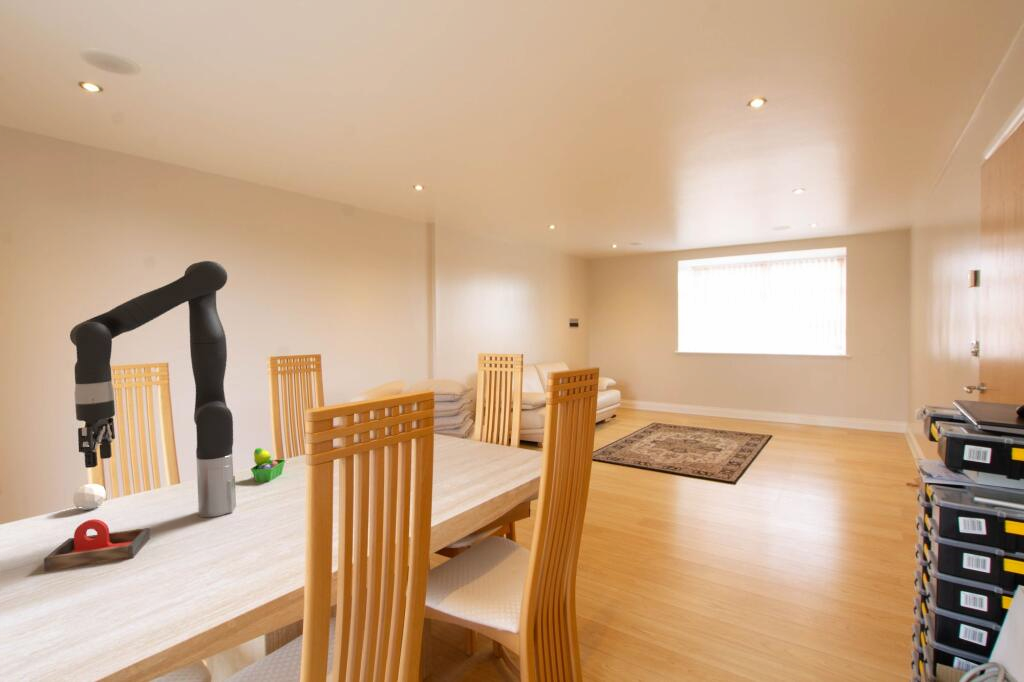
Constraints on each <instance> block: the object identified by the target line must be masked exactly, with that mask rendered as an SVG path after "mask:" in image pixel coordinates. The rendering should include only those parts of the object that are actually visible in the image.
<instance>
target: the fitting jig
mask: <svg viewBox="0 0 1024 682" xmlns="http://www.w3.org/2000/svg"><path fill="white" fill-rule="evenodd" d="M87 536H88V537H89V538H96V537H97V534H93V535H92V534H91V535H87ZM109 539H110V542H111V543H112V544H118V543H128V542H132V543H131V544H130V545H124V546H117V547H110V548H103V549H96V550H89V551H82V552H75V553H71V552H73V551H74V550H75V545H74V537H69V538H68V539H66V540H65V541H64V542H63V543H62V544H60V545H59V546H58V547H56V548H55V549H54V550H53V551H51V552H50V553H49V554H47V555H46V556H44V557H43V565H44V568H43V569H44V572H49V571H54V570H55V571H56V570H62V569H67V568H68V569H69V568H74V567H81V566H87V565H93V564H101V563H107V562H114V561H120V560H121V561H122V560H129V559H134V557H136V555H137V554H139V552H140V551H141V550H142V548H143V547H144V546H145V545H146V544H147V543H148V542H149V540H150V539H151V534H150V527H145V528H138V529H137V528H136V529H130V530H129V529H128V530H124V531H123V530H122V531H116V532H115V531H114V532H109Z"/></svg>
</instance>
